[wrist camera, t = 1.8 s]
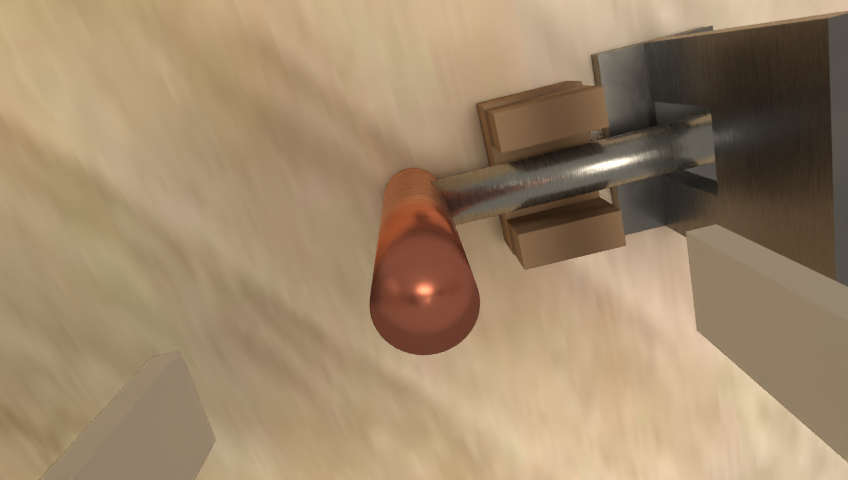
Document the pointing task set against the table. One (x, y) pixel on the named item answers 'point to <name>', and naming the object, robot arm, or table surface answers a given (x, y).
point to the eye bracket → (744, 133)
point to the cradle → (541, 133)
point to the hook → (488, 196)
